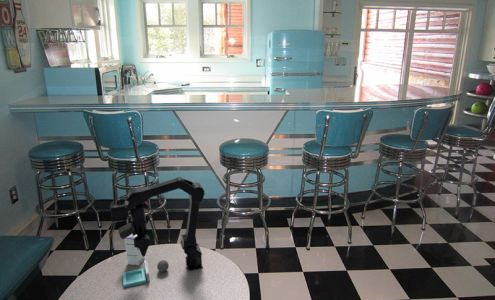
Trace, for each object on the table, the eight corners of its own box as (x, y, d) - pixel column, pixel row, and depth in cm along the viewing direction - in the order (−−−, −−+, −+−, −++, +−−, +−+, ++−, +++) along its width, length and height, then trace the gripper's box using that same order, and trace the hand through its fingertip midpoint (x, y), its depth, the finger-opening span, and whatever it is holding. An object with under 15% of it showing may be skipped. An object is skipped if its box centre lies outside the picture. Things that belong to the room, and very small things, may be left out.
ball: (168, 266, 159) (167, 257, 157) (169, 272, 154) (169, 263, 153) (156, 268, 157) (156, 259, 156) (158, 275, 153) (157, 265, 151)
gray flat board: (147, 267, 158) (146, 259, 157) (149, 281, 149) (149, 273, 147) (144, 267, 158) (144, 259, 157) (146, 281, 148) (146, 273, 147)
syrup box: (138, 265, 159) (136, 237, 156) (127, 264, 161) (124, 236, 157) (144, 258, 165) (142, 231, 161) (133, 257, 166) (130, 230, 162)
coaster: (144, 270, 156) (144, 268, 155) (146, 282, 148) (145, 279, 147) (123, 275, 153) (122, 272, 152) (123, 287, 144) (123, 284, 144)
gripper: (117, 212, 151) (122, 243, 155) (118, 231, 134) (123, 266, 138) (144, 207, 154) (148, 238, 159) (148, 226, 137) (152, 260, 142)
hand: (142, 250), depth 149 cm, fingers open, 9 cm apart
